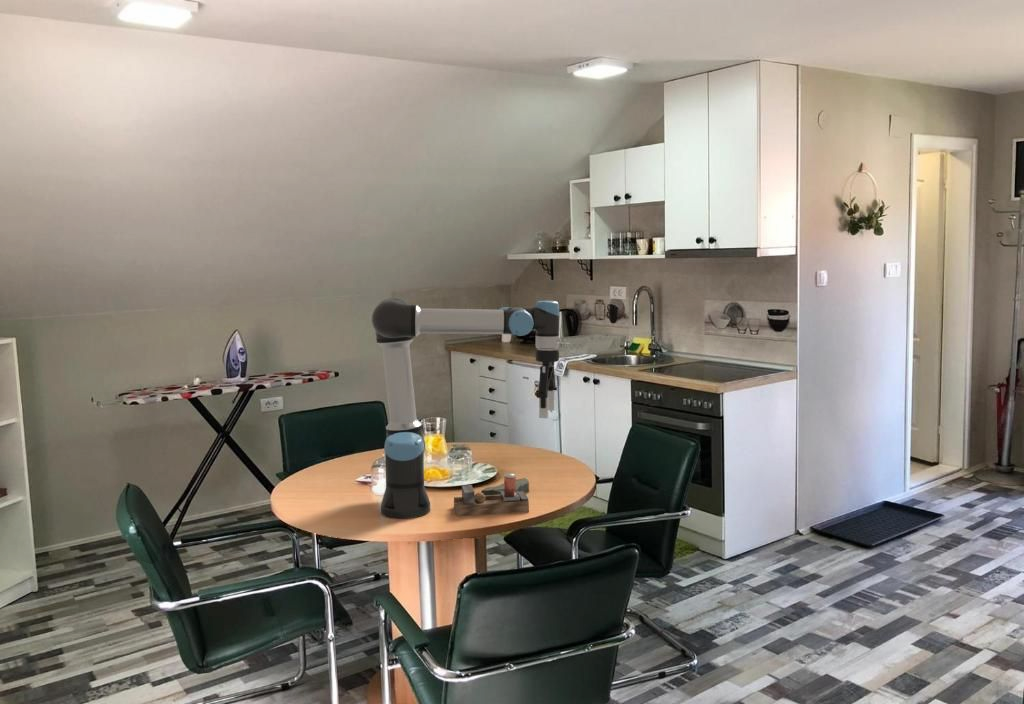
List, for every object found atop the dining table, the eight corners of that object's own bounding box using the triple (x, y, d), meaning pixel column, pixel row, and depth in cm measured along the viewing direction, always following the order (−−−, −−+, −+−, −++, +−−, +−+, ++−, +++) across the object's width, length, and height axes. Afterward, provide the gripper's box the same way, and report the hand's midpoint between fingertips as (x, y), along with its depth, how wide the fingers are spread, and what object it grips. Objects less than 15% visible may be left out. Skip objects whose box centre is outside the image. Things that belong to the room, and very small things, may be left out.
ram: (503, 504, 256) (503, 477, 255) (500, 498, 263) (500, 471, 262) (520, 503, 257) (519, 476, 256) (516, 497, 264) (515, 471, 263)
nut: (474, 505, 256) (474, 494, 256) (473, 502, 260) (472, 491, 259) (486, 505, 257) (486, 493, 256) (484, 501, 260) (484, 490, 260)
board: (457, 516, 253) (456, 493, 252) (453, 507, 262) (453, 485, 261) (528, 512, 256) (528, 489, 255) (523, 502, 266) (523, 481, 265)
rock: (536, 498, 271) (536, 484, 271) (488, 504, 267) (487, 489, 266) (526, 489, 283) (526, 475, 282) (479, 494, 278) (479, 480, 278)
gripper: (553, 353, 257) (552, 421, 259) (564, 345, 281) (563, 407, 284) (528, 353, 258) (528, 420, 261) (542, 344, 283) (541, 406, 285)
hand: (546, 414), depth 272 cm, fingers open, 13 cm apart
